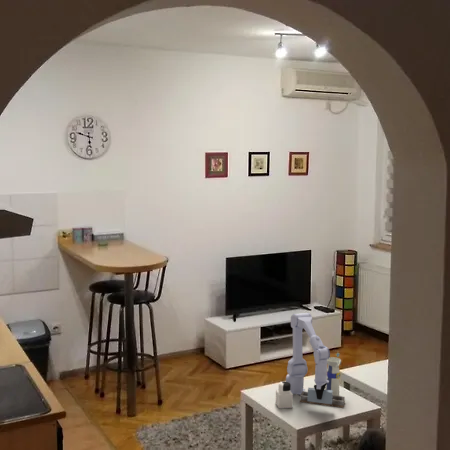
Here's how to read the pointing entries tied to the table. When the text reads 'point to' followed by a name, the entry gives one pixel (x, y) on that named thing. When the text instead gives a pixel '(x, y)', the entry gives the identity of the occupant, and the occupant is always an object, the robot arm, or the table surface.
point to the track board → (336, 402)
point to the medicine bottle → (284, 395)
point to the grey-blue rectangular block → (325, 398)
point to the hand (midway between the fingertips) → (319, 397)
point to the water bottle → (333, 374)
